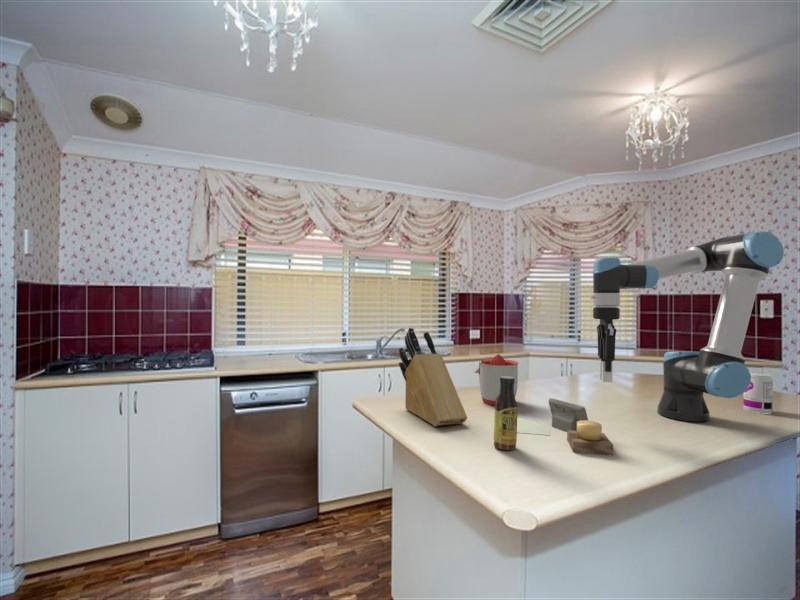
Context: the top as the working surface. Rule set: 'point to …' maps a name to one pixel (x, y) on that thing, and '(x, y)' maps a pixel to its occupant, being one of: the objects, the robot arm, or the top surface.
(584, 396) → the top surface
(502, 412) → the sauce bottle
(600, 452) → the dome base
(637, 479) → the top surface
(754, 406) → the supplement can
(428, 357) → the knife block
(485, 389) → the citrus juicer
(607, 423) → the top surface
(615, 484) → the top surface
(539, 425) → the pad
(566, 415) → the digital clock
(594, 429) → the yellow rounded cube
